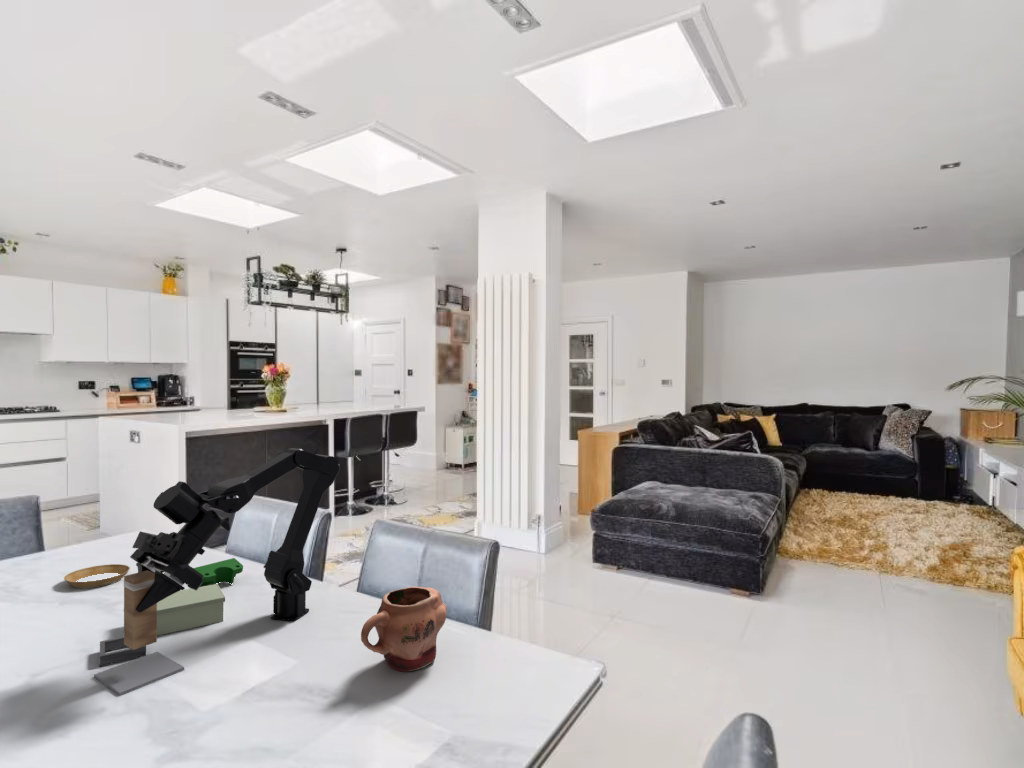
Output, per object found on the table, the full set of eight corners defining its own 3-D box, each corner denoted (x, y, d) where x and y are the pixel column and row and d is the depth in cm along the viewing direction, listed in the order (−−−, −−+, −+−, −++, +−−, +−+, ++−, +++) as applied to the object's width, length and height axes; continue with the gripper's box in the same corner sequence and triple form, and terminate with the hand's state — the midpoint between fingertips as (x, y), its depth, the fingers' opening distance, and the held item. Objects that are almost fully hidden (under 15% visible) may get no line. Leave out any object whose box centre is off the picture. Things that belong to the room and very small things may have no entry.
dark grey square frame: (143, 641, 120) (143, 632, 120) (146, 655, 114) (146, 646, 114) (99, 651, 115) (99, 641, 115) (99, 666, 109) (99, 656, 109)
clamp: (207, 607, 149) (197, 582, 145) (196, 596, 153) (186, 572, 149) (249, 579, 158) (241, 555, 153) (238, 570, 161) (230, 546, 157)
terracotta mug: (386, 697, 100) (387, 619, 100) (343, 675, 107) (344, 602, 107) (461, 654, 116) (461, 587, 116) (419, 637, 123) (420, 574, 123)
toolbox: (217, 606, 139) (217, 583, 139) (224, 621, 131) (225, 597, 130) (136, 622, 129) (136, 598, 129) (138, 640, 121) (139, 614, 121)
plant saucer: (73, 576, 159) (73, 567, 159) (134, 570, 165) (134, 561, 165) (55, 595, 146) (55, 585, 146) (123, 587, 152) (123, 577, 152)
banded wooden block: (147, 636, 110) (147, 570, 110) (157, 641, 108) (157, 574, 108) (123, 644, 107) (123, 576, 107) (133, 650, 104) (133, 580, 104)
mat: (157, 653, 115) (157, 651, 115) (184, 669, 109) (184, 667, 109) (94, 677, 106) (94, 674, 106) (119, 695, 99) (119, 692, 99)
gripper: (141, 508, 116) (76, 577, 106) (187, 521, 105) (119, 599, 96) (181, 537, 122) (123, 604, 113) (228, 553, 112) (168, 628, 103)
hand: (132, 608), depth 106 cm, fingers closed on banded wooden block, 4 cm apart
